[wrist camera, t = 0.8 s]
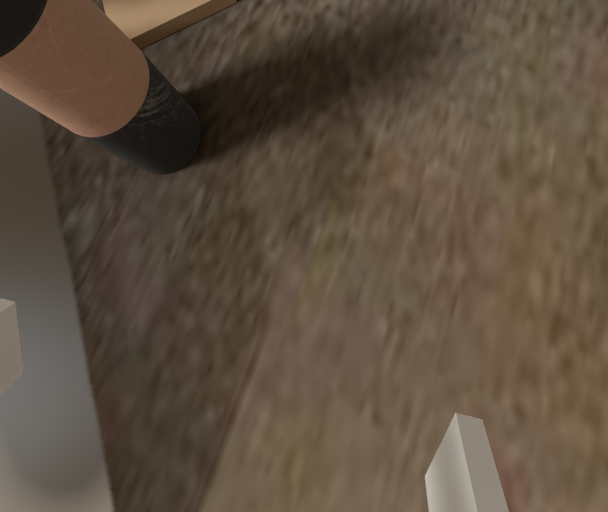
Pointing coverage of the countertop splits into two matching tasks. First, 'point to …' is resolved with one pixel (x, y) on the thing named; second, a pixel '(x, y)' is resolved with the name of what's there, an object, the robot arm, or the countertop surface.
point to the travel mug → (94, 82)
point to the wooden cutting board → (158, 16)
